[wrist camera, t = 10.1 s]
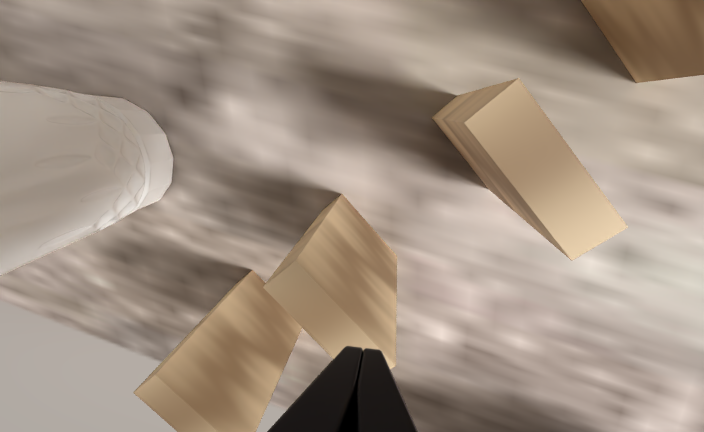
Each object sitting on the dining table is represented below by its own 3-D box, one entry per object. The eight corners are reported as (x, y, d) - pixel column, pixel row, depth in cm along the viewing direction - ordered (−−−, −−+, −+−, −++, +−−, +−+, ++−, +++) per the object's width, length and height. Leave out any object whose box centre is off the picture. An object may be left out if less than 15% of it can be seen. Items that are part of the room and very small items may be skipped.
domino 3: (515, 170, 17) (628, 227, 9) (489, 189, 18) (571, 260, 9) (457, 95, 17) (519, 78, 8) (431, 117, 17) (463, 122, 8)
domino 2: (396, 256, 20) (395, 365, 11) (376, 270, 20) (360, 386, 12) (341, 193, 19) (295, 260, 10) (322, 210, 19) (262, 287, 11)
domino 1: (304, 323, 22) (244, 455, 13) (288, 334, 22) (220, 469, 14) (252, 269, 21) (155, 374, 13) (236, 283, 22) (133, 392, 13)
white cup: (80, 210, 22) (-164, 286, 12) (52, 83, 19) (-281, 56, 10) (191, 220, 21) (18, 311, 11) (176, 88, 18) (-60, 64, 9)
